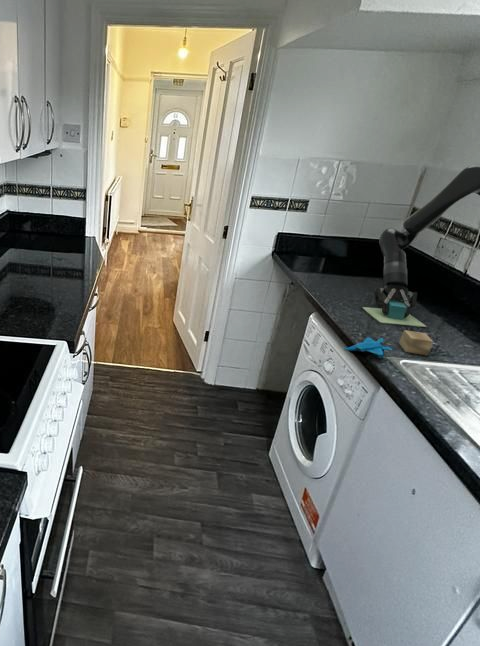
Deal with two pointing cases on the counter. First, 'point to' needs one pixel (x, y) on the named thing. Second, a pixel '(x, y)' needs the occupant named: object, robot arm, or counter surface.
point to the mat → (382, 318)
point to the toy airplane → (370, 347)
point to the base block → (415, 342)
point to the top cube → (396, 310)
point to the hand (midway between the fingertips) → (395, 315)
